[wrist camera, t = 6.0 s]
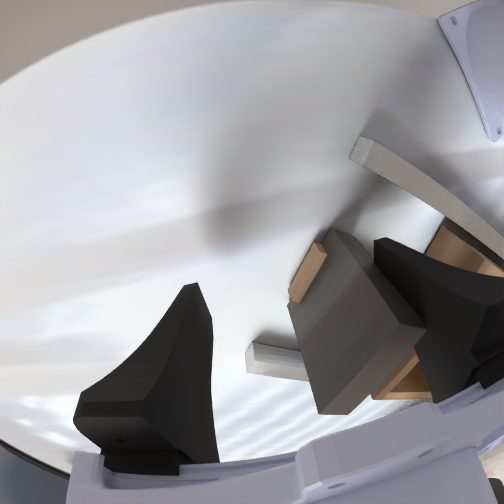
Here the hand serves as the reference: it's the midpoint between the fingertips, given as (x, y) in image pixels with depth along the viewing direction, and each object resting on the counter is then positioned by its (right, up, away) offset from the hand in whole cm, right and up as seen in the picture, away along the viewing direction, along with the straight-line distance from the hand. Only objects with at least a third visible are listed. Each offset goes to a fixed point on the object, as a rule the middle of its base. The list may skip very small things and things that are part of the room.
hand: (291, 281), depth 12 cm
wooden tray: (+9, -2, +5) cm, 11 cm away
